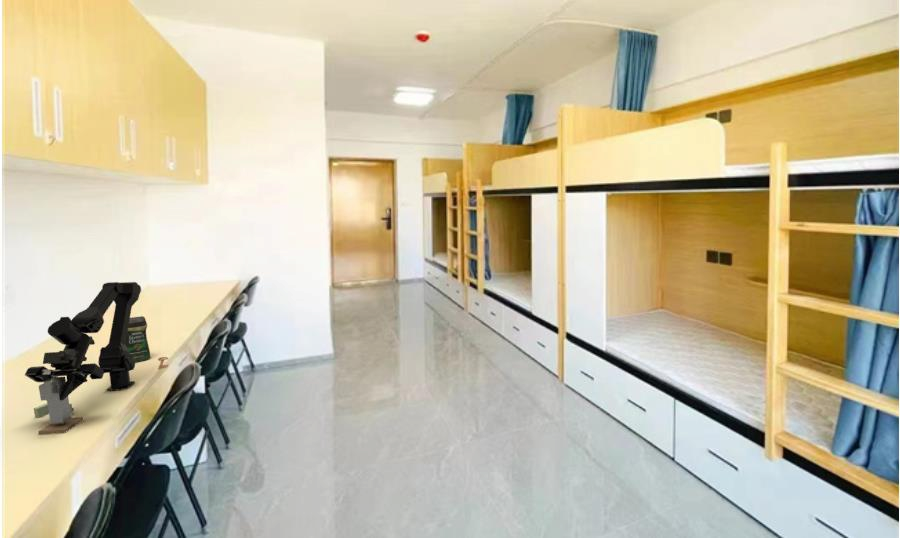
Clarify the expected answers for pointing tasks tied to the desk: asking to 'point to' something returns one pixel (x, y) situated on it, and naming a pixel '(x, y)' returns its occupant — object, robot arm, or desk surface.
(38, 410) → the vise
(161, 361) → the key
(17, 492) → the desk surface
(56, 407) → the stepped metal bracket
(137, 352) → the coffee jar
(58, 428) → the walnut board
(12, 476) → the desk surface
